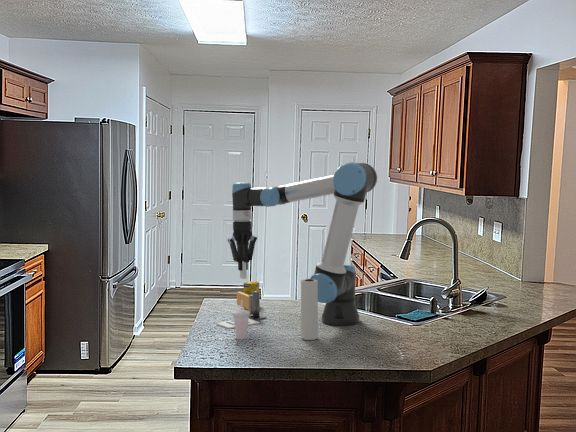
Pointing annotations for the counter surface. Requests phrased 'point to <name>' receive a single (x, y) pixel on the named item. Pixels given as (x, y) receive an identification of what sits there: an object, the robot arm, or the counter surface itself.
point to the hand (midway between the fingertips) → (243, 278)
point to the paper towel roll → (309, 309)
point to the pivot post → (256, 307)
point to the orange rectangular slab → (245, 301)
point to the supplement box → (250, 287)
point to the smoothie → (241, 323)
